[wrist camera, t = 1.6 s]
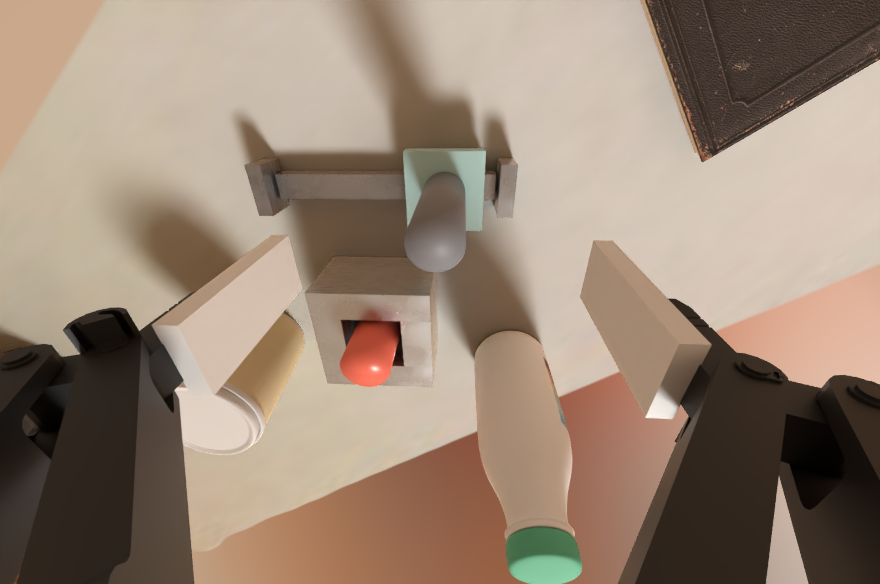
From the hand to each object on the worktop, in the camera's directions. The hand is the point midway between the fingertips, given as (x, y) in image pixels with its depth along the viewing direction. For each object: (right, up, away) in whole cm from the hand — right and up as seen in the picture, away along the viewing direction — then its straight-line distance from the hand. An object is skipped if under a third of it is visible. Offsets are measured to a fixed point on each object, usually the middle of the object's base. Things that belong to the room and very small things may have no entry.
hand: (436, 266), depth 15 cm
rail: (-4, +8, +14) cm, 17 cm away
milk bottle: (+8, -8, +23) cm, 26 cm away
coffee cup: (-19, -6, +24) cm, 31 cm away
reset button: (-5, -4, +17) cm, 18 cm away
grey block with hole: (-5, -2, +20) cm, 21 cm away
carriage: (+1, +8, +14) cm, 16 cm away
